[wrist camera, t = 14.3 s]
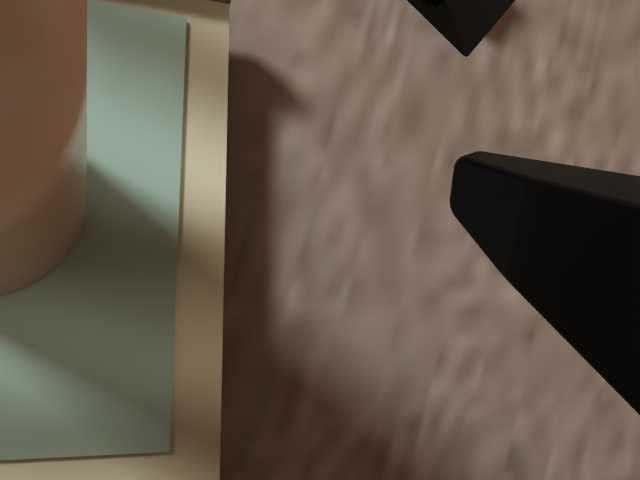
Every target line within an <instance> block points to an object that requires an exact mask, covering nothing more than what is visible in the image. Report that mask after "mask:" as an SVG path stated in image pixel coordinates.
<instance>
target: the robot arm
mask: <svg viewBox="0 0 640 480" xmlns="http://www.w3.org/2000/svg"><path fill="white" fill-rule="evenodd" d="M450 207H451V210H452V212H453V214H454V216H455V217H456V218H457V219H458V221H459V222H460V223H461V224H462V226H463V227H464V228H465V229H466V231H467V232H468V233H469V234H470V236H471V237H472V238H473V239H474V241H475V242H476V243H477V244H478V245H479V247H480V248H481V249H482V250H483V252H484V253H485V254H486V255H487V257H488V258H489V259H490V260H491V262H492V263H493V264H494V265H495V267H496V268H497V269H498V270H499V271H500V272H501V274H502V275H503V276H504V277H505V278H506V279H507V280H508V282H509V283H510V284H511V285H512V286H513V287H514V288H515V289H516V290H517V291H518V292H519V293H520V294H521V295H522V296H523V297H524V298H525V299H526V300H527V301H528V302H529V303H530V304H531V305H532V306H533V307H534V308H535V309H536V310H537V311H538V312H539V313H540V314H541V315H542V316H543V317H544V318H545V319H546V320H547V321H548V322H549V323H550V324H551V325H552V326H553V328H554V329H555V330H556V331H557V332H558V333H559V334H560V335H561V336H562V337H563V338H564V339H565V340H566V341H567V342H568V343H569V344H570V345H571V346H572V347H573V348H574V349H575V350H576V351H577V352H578V353H579V354H580V355H581V356H582V357H583V358H584V359H585V360H586V361H587V362H588V363H589V364H590V365H591V366H592V367H593V368H594V369H595V370H596V371H597V372H598V373H599V374H600V375H601V376H602V377H603V378H604V379H605V380H606V381H607V382H608V383H609V384H610V385H611V386H612V387H613V388H614V389H615V390H616V391H617V392H618V393H619V394H620V395H621V396H622V398H623V399H624V400H625V401H626V402H627V403H628V404H629V405H630V406H631V407H632V408H633V409H634V410H635V411H636V412H637V413H638V414H639V415H640V176H635V175H628V174H622V173H616V172H609V171H603V170H597V169H590V168H584V167H578V166H571V165H565V164H559V163H552V162H546V161H540V160H533V159H527V158H521V157H514V156H508V155H502V154H495V153H489V152H483V151H479V152H474V153H471V154H468V155H465V156H462V157H460V158H459V159H458V160H457V161H456V163H455V165H454V171H453V179H452V186H451V194H450Z"/></svg>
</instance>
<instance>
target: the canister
mask: <svg viewBox="0 0 640 480" xmlns="http://www.w3.org/2000/svg"><path fill="white" fill-rule="evenodd" d="M86 207H87V0H0V296H3V295H8V294H11V293H14V292H16V291H19V290H22V289H24V288H26V287H28V286H31V285H33V284H35V283H36V282H38V281H40V280H41V279H43V278H44V277H46V276H47V275H48V274H50V273H51V272H52V271H53V270H55V269H56V268H57V267H58V266H59V265H60V264H61V263H62V262H63V261H64V260H65V259H66V257H67V256H68V255H69V253H70V252H71V250H72V249H73V248H74V246H75V244H76V242H77V240H78V238H79V236H80V234H81V231H82V228H83V226H84V221H85V216H86Z"/></svg>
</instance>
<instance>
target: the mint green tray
mask: <svg viewBox="0 0 640 480" xmlns="http://www.w3.org/2000/svg"><path fill="white" fill-rule="evenodd" d="M230 2H231V0H87V207H86V216H85V221H84V226H83V228H82V231H81V234H80V236H79V238H78V240H77V242H76V244H75V246H74V248H73V249H72V250H71V252H70V253H69V255H68V256H67V257H66V259H65V260H64V261H63V262H62V263H61V264H60V265H59V266H58V267H57V268H56V269H55V270H53V271H52V272H51V273H50V274H48V275H47V276H46V277H44V278H43V279H41V280H40V281H38V282H36V283H35V284H33V285H31V286H28V287H26V288H24V289H22V290H19V291H16V292H14V293H11V294H8V295H3V296H0V480H220V446H221V397H222V348H223V300H224V251H225V202H226V153H227V104H228V56H229V7H230Z"/></svg>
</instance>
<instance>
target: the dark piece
mask: <svg viewBox="0 0 640 480" xmlns="http://www.w3.org/2000/svg"><path fill="white" fill-rule="evenodd" d="M407 1H408V2H409V3H410V4H411V5H412V6H414V7H415V8H416V9H417V10H418V11H419V12H420V13H421V14H422V15H423V16H424V17H425V18H426V19H427V20H428V21H429V22H430V23H431V24H432V25H433V26H434V27H435V28H436V29H437V30H438V31H439V32H440V33H441V34H442V35H443V36H444V37H445V38H446V39H447V40H448V41H449V42H450V43H451V44H452V45H453V46H454V47H455V48H456V49H457V50H458V51H459V52H460V53H461V54H462V55H464V56H466V57H467V56H469V54H470V53H471V52H472V51H473V50H474V48H475V47H476V46H477V45H478V44H479V43H480V41H481V40H482V39H483V38H484V37H485V35H486V34H487V33H488V32H489V31H490V29H491V28H492V27H493V26H494V25H495V24H496V22H497V21H498V20H499V19H500V18H501V16H502V15H503V14H504V13H505V12H506V11H507V9H508V8H509V7H510V6H511V5H512V3H513V2H514V1H515V0H407Z"/></svg>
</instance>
